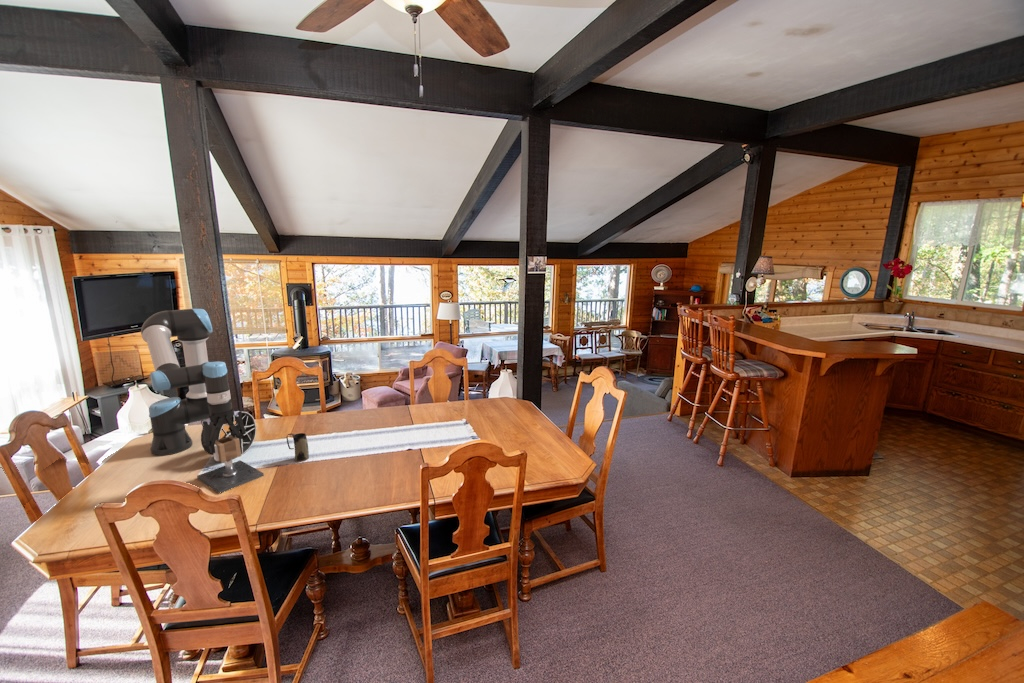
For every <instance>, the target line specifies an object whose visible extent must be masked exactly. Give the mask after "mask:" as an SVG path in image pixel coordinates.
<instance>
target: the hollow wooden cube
mask: <svg viewBox="0 0 1024 683" xmlns="http://www.w3.org/2000/svg"><path fill="white" fill-rule="evenodd" d="M221 438H222V437H221ZM221 438H220V439H219V440H216V441H215V444H216V445H217V448H218V455H219V461H218V462H220V463H225V461H228V460H231V459H232V460H234V459H236V458H239V457H242V455H243V454H242V455H241V448H240V441H239V439H237V438H235V437H233V436H228V437H225V438H222V439H221Z"/></svg>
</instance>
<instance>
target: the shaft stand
mask: <svg viewBox="0 0 1024 683" xmlns="http://www.w3.org/2000/svg"><path fill="white" fill-rule="evenodd" d="M264 476H265V475H264V472H262V471H261V470H259V469H257V468H255V467H253V466H251V465H250V464H248V463H246V462H244V461H242V460H241V459H240V460H237V461H234V462H233V459H231V460H228V461H225V462H224V465H223V466H221V467H218V468H215V469H212V470H210V471H206V472H205V473H201V474H199V475H196V479H197V480H198V481H200V482H201V483H203V484H204V485H206V486H207V487H208V488H210V489H212V490H213V491H215V492H216V491H217V492H216V493H218V492H219V493H220V492H223V493H224V491H225V492H227V491H226V490H228V491H230V490H232V489H231V488H233V489H235V488H238V487H240V486H242V485H245V484H247V483H249V482H252V481H255V480H257V479H260V478H262V477H264ZM239 485H240V486H239ZM234 487H235V488H234ZM229 489H230V490H229ZM219 493H218V494H219ZM220 494H221V493H220Z"/></svg>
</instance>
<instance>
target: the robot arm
mask: <svg viewBox="0 0 1024 683" xmlns="http://www.w3.org/2000/svg"><path fill="white" fill-rule="evenodd" d="M140 330H141V331H140V334H141V338H142V340H143V341H144V342H146V343H147V346H148V350H149V355H150V358H151V361H152V364H153V368H154V371H152V372H150V374H149V376H150V382H151V387H152V390H153V391H155V392H159V391H170V390H175V389H180V388H184V387H188V392H187V393H186V394H185V398H183V399H181V398H180V397H178V396H173V397H167V398H163V399H159V400H158V401H155V402H154V403H151V404H150V406H149V407H148V413H149V415H148V417H149V418H150V423H151V431H152V435H153V436H152V440H151V444H150V454H151V455H152V456H159V457H160V456H168V455H173V454H177V453H181V452H183V451H185V450H188V449H190V448H191V447H192V446H193V439H192V438H191V436H190V434H189V433H188V432H187V430H186V425H187V424H193V423H197V422H200V424H201V425H202V429H203V445H205V446H209V447H210V452H211V453H212V454H213V455H212V456H213V460H214V461H216V462H220V461H219V455H218V448H217V445H216V444H215V441H216V437H217V434H218V430H219V428H220V426H221V425H223V424H228V425H227V426H228V428H229V427H230V428H231V430H232V431H233V433H234V434H235V436H236V437H235V438H237V439H239V441H240V444H242V441H241V437H242V435H243V434H246V431H245V428H244V424H243V421H242V412H241V411H240V410H236V411H235V410H233V403H232V400H231V399H232V398H231V391H230V384H229V376H228V368H227V364H226V362H225V361H209V357H208V356H209V355H208V350H207V342H206V341H208V339H209V338H210V334H212V333H213V330H214V329H213V325H212V323H211V319H210V316H209V314H208V312H207V311H206V310H205V309H203V308H186V309H185V308H183V309H174V310H173V309H172V310H162V311H159V312H156V313H154V314H152V315H151V316H149V317H148V318H147V319H146V320H145V321H144V322H143V324H142V326H141V329H140ZM173 337H174V338H175V337H177V338H176V339H177V340H178V342H180V343H182V349H183V355H184V362H185V363H184V364H185V366H182V367H181V366H180V363H179V360H178V358H177V354H176V352H175V348H174V347H173V343H172V340H171V338H173ZM233 415H234V416H235V417H236V418H235V421H236V420H237V424H238V427H239V431H240V432H239V431H238V429H237V428H236V426H235V422H234V423H233V421H232V417H233ZM210 421H211V422H213V425H212V427H213V428H212V432H211V435H210V439H209V426H208V425H209V424H210V423H209V422H210Z"/></svg>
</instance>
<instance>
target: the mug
mask: <svg viewBox="0 0 1024 683" xmlns="http://www.w3.org/2000/svg"><path fill="white" fill-rule="evenodd" d="M289 436H292V438H293V446H294V448H293V447H291V446H290V442H289ZM285 438H286V444H287V446H288V448H289V450H294V461H295V462H296V463H297V462H298V463H303V462H305V461H308V459H309V456H310V455H309V453H310V451H309V445H308V438H307V435H306V433H304V432H300V433H296V434H295V433H288V434H287V435H286V437H285Z"/></svg>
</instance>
